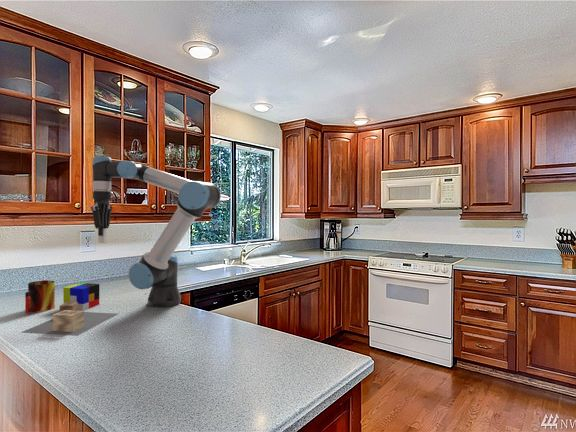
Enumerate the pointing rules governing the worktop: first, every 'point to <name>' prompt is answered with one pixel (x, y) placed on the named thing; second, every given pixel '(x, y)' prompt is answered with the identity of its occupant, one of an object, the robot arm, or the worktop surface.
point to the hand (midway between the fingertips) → (102, 242)
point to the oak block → (68, 320)
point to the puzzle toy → (82, 295)
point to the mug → (40, 296)
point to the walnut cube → (69, 306)
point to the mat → (89, 322)
